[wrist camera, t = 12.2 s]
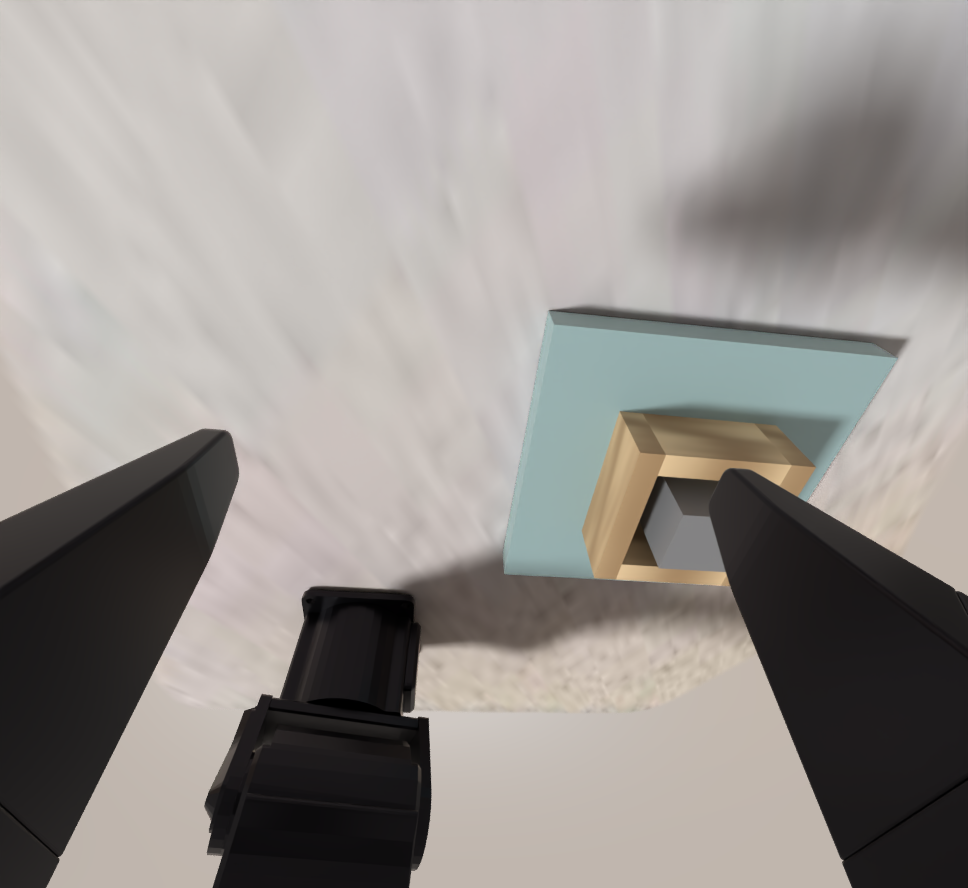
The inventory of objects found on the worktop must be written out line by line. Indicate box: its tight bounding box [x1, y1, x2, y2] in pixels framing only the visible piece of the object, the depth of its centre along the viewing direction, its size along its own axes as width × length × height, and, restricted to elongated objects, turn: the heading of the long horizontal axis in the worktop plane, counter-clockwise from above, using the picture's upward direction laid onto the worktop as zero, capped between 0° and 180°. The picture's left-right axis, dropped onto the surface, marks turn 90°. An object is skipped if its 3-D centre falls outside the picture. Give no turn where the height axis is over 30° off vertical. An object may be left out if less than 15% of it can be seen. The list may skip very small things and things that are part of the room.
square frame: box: [582, 411, 816, 586], centre depth 22 cm, size 7×7×3 cm
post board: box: [503, 311, 898, 586], centre depth 22 cm, size 14×14×6 cm
